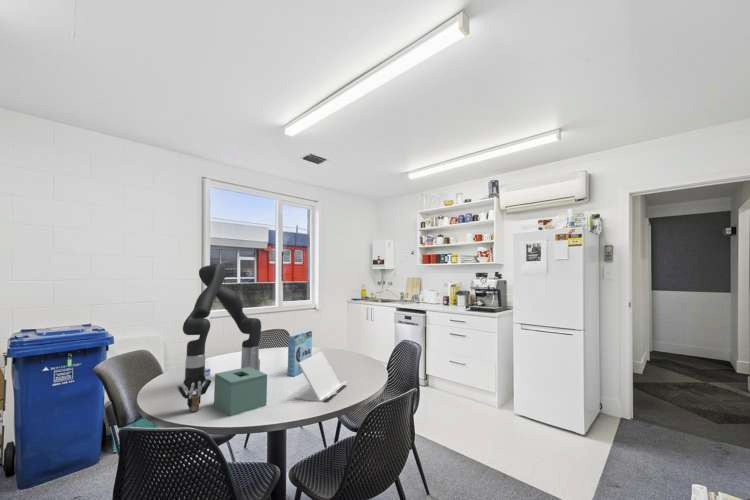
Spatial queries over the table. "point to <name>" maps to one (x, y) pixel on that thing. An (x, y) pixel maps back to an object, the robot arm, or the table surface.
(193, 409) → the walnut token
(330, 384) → the tablet stand
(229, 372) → the box
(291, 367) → the gum box
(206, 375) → the medicine box
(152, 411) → the table surface
